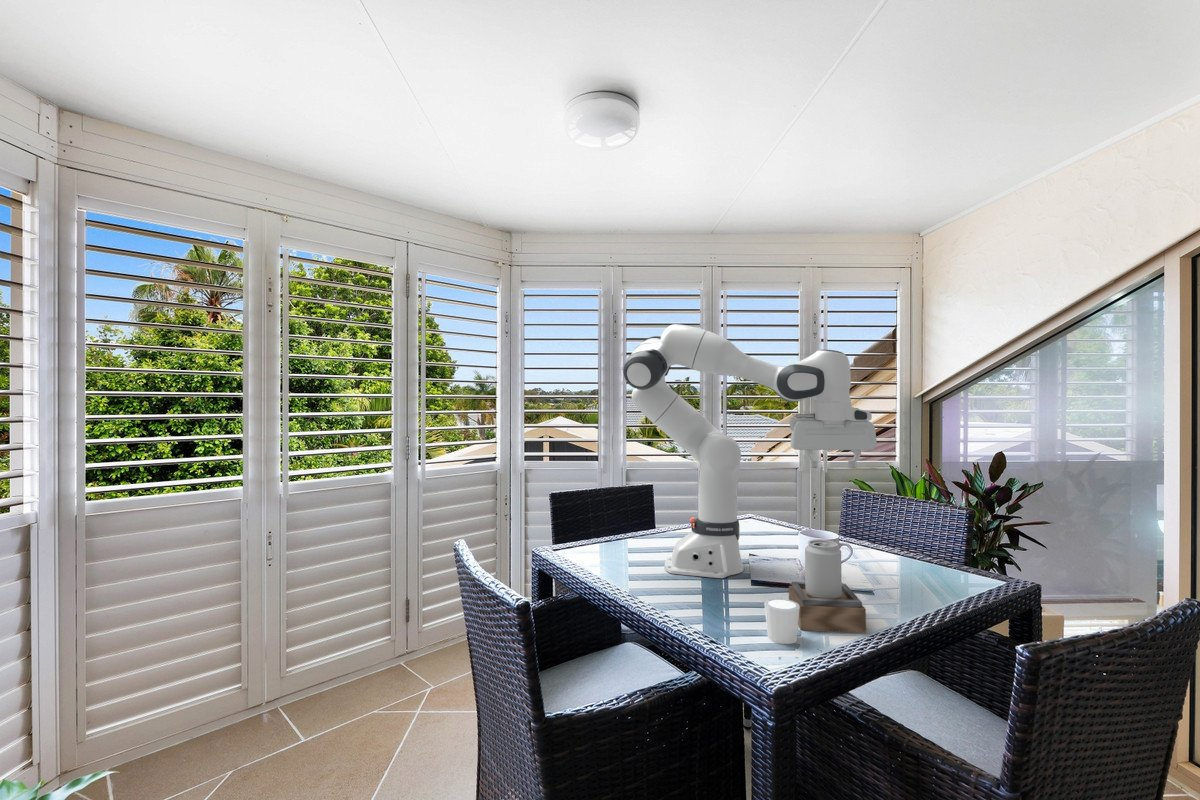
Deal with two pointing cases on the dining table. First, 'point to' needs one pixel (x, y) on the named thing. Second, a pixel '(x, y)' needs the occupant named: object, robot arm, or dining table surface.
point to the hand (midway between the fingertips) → (832, 467)
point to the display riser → (829, 611)
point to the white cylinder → (782, 620)
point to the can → (823, 570)
